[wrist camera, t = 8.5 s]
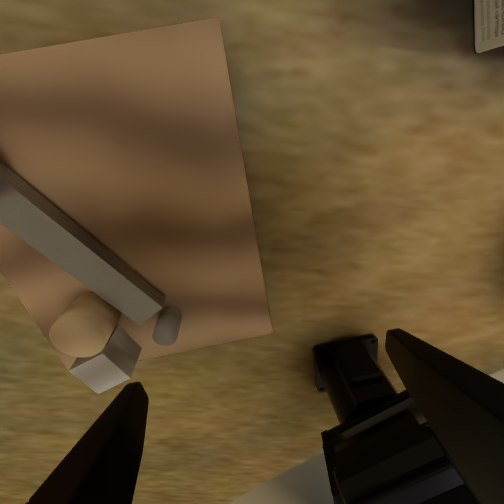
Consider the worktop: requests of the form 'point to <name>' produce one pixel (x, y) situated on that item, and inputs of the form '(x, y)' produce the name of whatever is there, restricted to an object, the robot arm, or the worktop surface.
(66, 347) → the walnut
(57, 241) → the lever
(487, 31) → the ink box
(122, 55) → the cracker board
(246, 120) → the worktop surface
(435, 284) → the worktop surface
